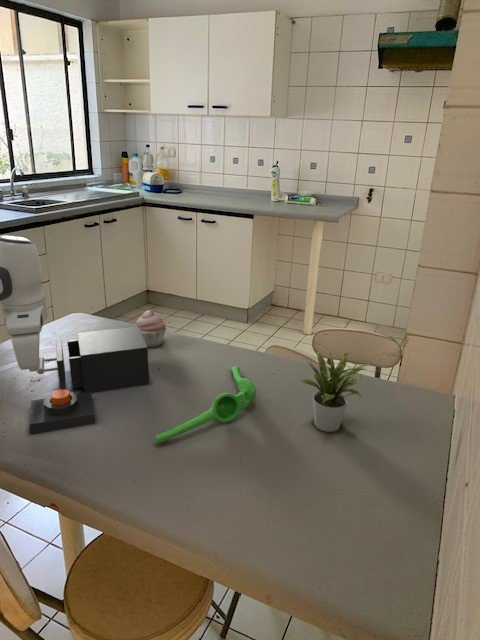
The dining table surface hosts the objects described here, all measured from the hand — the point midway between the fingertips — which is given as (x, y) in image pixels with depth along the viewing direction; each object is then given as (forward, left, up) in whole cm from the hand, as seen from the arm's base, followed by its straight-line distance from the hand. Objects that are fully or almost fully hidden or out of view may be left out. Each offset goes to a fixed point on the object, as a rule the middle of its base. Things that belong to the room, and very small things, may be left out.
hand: (33, 368), depth 104 cm
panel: (+5, -14, -5) cm, 16 cm away
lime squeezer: (+37, -22, -5) cm, 44 cm away
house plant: (+56, -35, -5) cm, 67 cm away
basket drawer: (+10, 0, -4) cm, 11 cm away
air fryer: (+17, 0, -5) cm, 18 cm away
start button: (+5, -14, -1) cm, 15 cm away
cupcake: (+29, +16, -5) cm, 34 cm away
